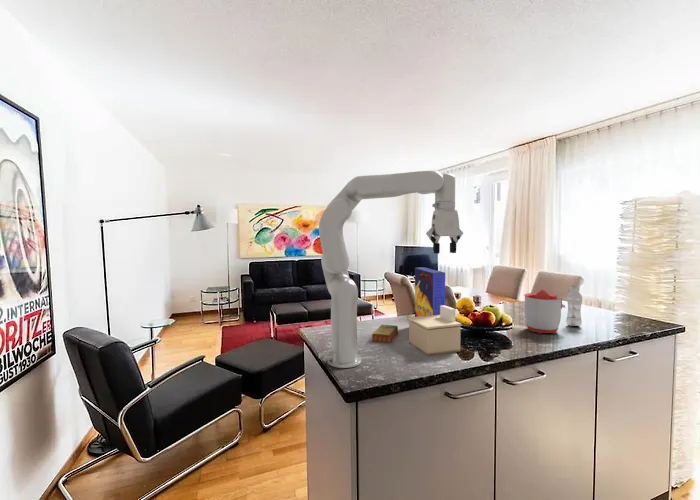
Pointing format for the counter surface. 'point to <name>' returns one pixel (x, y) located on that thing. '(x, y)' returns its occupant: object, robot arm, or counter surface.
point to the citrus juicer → (543, 312)
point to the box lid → (437, 319)
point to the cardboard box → (434, 339)
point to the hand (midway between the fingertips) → (444, 252)
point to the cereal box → (429, 291)
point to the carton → (385, 334)
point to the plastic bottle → (574, 307)
